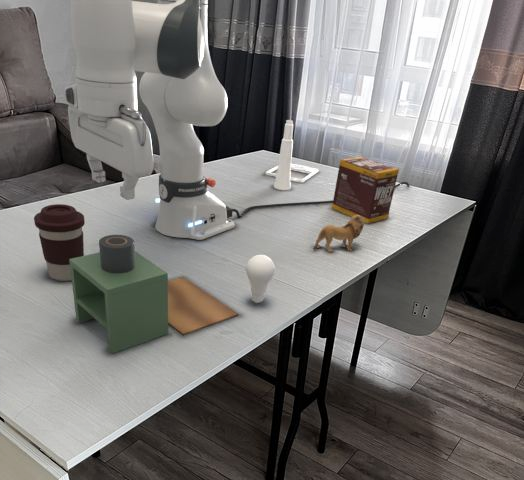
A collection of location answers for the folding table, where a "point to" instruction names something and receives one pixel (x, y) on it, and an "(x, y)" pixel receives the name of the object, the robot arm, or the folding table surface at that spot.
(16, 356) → the folding table surface
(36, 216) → the coffee cup
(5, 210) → the folding table surface
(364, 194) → the supplement box
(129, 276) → the shelf
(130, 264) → the tape roll
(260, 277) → the lightbulb
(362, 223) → the lion figurine
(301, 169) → the photo frame
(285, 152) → the white tapered tower
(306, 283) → the folding table surface
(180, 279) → the copper sheet
